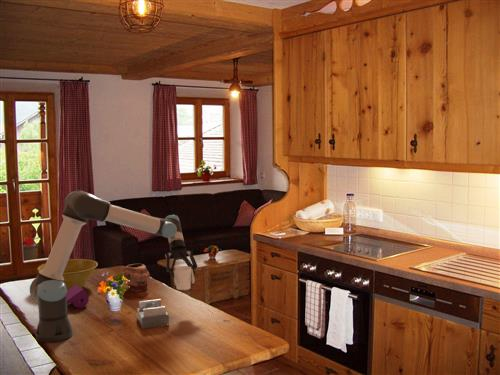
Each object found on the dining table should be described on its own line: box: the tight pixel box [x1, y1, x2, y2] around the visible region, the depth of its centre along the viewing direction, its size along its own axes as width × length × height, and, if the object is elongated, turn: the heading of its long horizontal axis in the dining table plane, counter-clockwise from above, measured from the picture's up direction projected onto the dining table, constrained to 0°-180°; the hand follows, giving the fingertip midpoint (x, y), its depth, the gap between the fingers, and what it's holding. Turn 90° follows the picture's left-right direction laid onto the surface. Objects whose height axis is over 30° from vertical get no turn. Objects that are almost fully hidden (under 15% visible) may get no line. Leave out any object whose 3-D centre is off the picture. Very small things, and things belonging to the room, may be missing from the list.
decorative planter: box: [123, 263, 151, 292], centre depth 300 cm, size 20×12×14 cm, turn 54°
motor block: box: [136, 298, 170, 330], centre depth 249 cm, size 14×12×8 cm
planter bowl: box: [37, 258, 99, 291], centre depth 302 cm, size 32×32×13 cm
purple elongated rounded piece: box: [66, 285, 90, 309], centre depth 271 cm, size 10×8×18 cm
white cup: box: [174, 265, 192, 291], centre depth 259 cm, size 8×8×10 cm
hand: (184, 282), depth 256 cm, fingers closed on white cup, 8 cm apart
